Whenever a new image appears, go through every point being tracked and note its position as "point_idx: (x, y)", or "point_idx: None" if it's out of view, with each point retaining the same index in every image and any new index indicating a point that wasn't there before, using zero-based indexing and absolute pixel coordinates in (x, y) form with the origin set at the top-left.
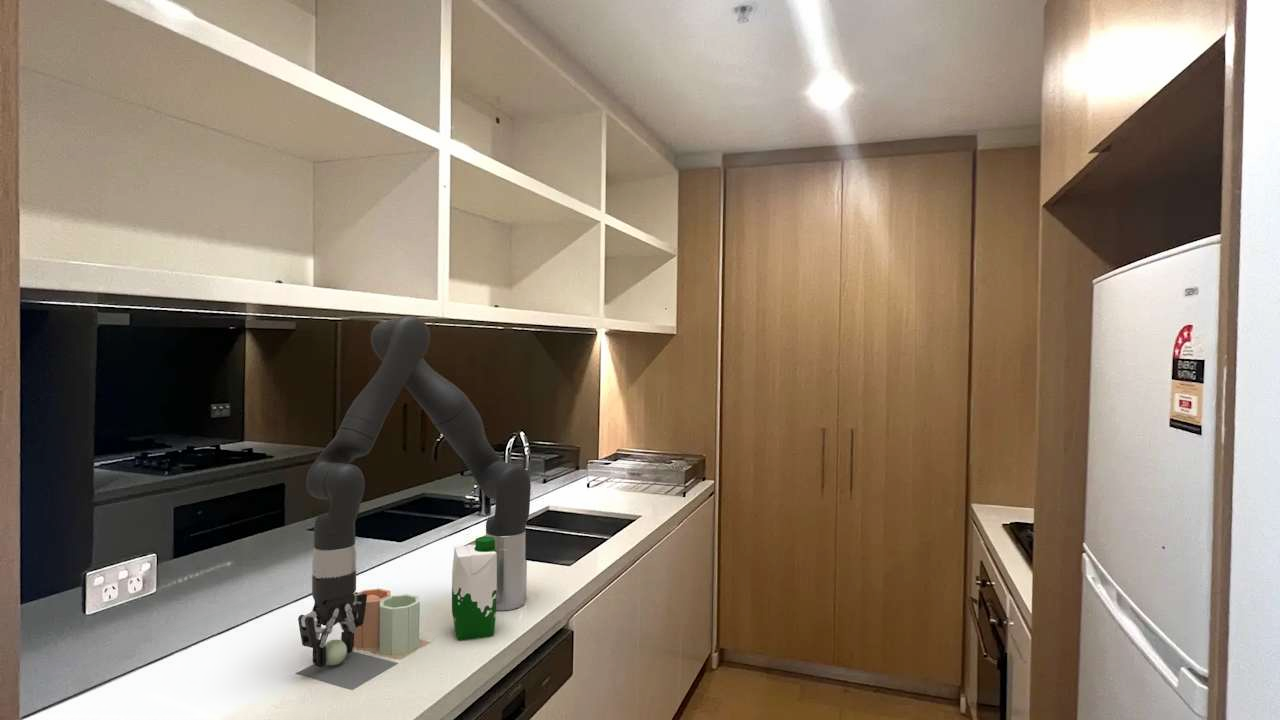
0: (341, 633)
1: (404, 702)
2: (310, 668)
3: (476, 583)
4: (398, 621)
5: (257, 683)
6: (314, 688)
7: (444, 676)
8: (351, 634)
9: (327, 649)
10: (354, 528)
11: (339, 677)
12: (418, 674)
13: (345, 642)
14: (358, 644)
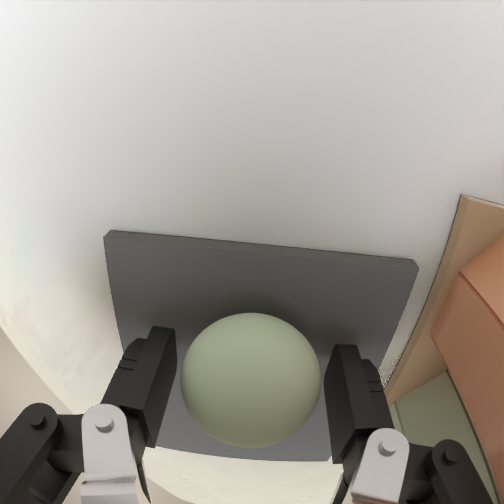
0: (354, 423)
1: (187, 491)
2: (173, 268)
3: None
4: None
5: (14, 129)
6: (105, 354)
7: (301, 500)
8: (341, 461)
9: (190, 412)
10: None
11: (179, 401)
12: (296, 483)
13: (337, 402)
14: (445, 322)
